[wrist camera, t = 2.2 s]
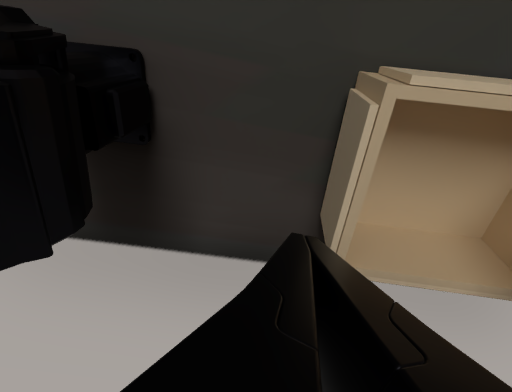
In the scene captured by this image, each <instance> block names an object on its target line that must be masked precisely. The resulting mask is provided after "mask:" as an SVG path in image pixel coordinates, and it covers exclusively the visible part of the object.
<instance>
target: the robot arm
mask: <svg viewBox="0 0 512 392" xmlns="http://www.w3.org/2000/svg"><path fill="white" fill-rule="evenodd" d="M132 54H135V55H136V61H134V60H133V59H132ZM150 121H151V110H150V99H149V89H148V84H147V83H146V82H145V75H144V64H143V57H142V54H141V52H140V51H139V50H137V49H132V48H123V47H113V46H104V45H94V44H85V43H75V42H67V41H66V35H65V34H61V33H56V32H53V31H52V29H51V28H47V27H43V26H38V24H35V23H34V22H33V21H32V20H31V19H30V17H29V16H28V15H27V14H26V13H25V12H24V11H23V10H22V9H20V8H15V7H10V6H3V5H0V271H1V270H4V269H7V268H10V267H13V266H15V265H18V264H21V263H24V262H30V261H34V260H39V259H43V258H48V257H50V256H52V255H53V250H52V245H54V244H56V243H58V242H60V241H62V240H64V239H66V238H68V237H69V236H71V235H73V234H74V233H75V232H77V231H78V230H79V229H81V228H82V227H83V226H84V225H85V221H84V219H85V218H86V217H87V215H88V214H89V212H90V210H91V209H92V207H93V204H92V194H91V187H90V180H89V173H88V166H87V159H86V154H87V153H89V152H90V151H92V150H94V151H96V150H99V149H101V148H102V147H104V146H106V145H108V144H109V143H111V142H113V141H116V142H124V143H133V144H141V145H145V144H147V143H148V142H150V140H151V135H150V125H149V122H150ZM141 135H143V136H144V137H145V140H143V139H142V138H141ZM120 392H512V388H511V387H510V386H508V385H507V384H506V383H504V382H503V381H501V380H500V379H499V378H497V377H496V376H495V375H493V374H492V373H491V372H489V371H488V370H486V369H485V368H484V367H482V366H481V365H479V364H478V363H477V362H475V361H474V360H473V359H471V358H470V357H469V356H467V355H466V354H464V353H463V352H462V351H460V350H459V349H457V348H456V347H455V346H453V345H452V344H451V343H449V342H448V341H446V340H445V339H444V338H442V337H441V336H440V335H438V334H437V333H436V332H434V331H433V330H432V329H430V328H429V327H428V326H426V325H425V324H424V323H422V322H421V321H420V320H418V319H417V318H416V317H415V316H414V315H412V314H411V313H410V312H409V311H407V310H406V309H405V308H403V307H402V306H401V305H400V304H398V303H397V302H395V303H394V300H393V299H392V298H390V297H389V296H388V295H387V294H385V293H384V292H383V291H382V290H381V289H379V288H378V287H377V286H376V285H374V284H373V283H372V282H371V281H370V280H368V279H367V278H366V277H365V276H363V275H362V274H361V273H360V272H358V271H357V270H356V269H355V268H354V267H352V266H351V265H350V264H349V263H347V262H346V261H345V260H344V259H342V258H341V257H340V256H339V255H338V254H336V253H335V252H334V251H333V250H331V249H330V248H329V247H328V246H326V245H325V244H324V243H323V242H322V241H320V240H319V239H318V238H316V237H312V236H304V235H302V234H297V233H291V234H290V235H289V236H288V238H287V239H286V240H285V241H284V242H283V244H282V245H281V246H280V247H279V249H278V250H277V251H276V252H275V253H274V255H273V256H272V257H271V258H270V260H269V261H268V262H267V263H266V264H265V266H264V267H263V268H262V269H261V271H260V272H259V273H258V274H257V275H256V276H255V277H254V279H253V280H252V281H251V282H250V283H249V284H248V285H247V286H246V288H245V289H244V290H243V291H241V292H240V293H239V294H238V295H237V296H236V297H235V298H234V299H233V300H231V301H230V302H229V303H228V304H227V305H225V306H224V307H223V308H221V309H220V310H219V311H218V312H217V313H216V314H214V315H213V316H212V317H210V318H209V319H208V320H207V321H206V322H205V323H203V324H202V325H201V326H200V327H198V328H197V329H196V330H195V331H193V332H192V333H191V334H190V335H189V336H187V337H186V338H185V339H184V340H182V341H181V342H180V343H179V344H178V345H176V346H175V347H174V348H173V349H171V350H170V351H169V352H168V353H167V354H165V355H164V356H163V357H162V358H160V360H158V361H157V362H156V363H154V364H153V365H152V366H151V367H150V368H148V369H147V370H146V371H145V372H143V373H142V374H141V375H140V376H139V377H138V378H136V379H135V380H134V381H132V382H131V383H130V384H129V385H128V386H126V387H125V388H124V389H123V390H121V391H120Z"/></svg>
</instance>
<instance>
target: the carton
mask: <svg viewBox="0 0 512 392" xmlns="http://www.w3.org/2000/svg"><path fill="white" fill-rule="evenodd" d="M320 216H321V222H322V227H323V233H324V239H325V245H326V246H328V247H329V248H330V249H331V250H333V251H334V252H335V253H336V254H338V255H339V256H340V257H341V258H342V259H344V260H345V261H346V262H347V263H349V264H350V265H351V266H352V267H354V268H355V269H356V270H357V271H358V272H360V273H361V274H362V275H363V276H365V277H366V278H367V279H368V280H370V281H375V282H381V283H389V284H396V285H402V286H410V287H417V288H424V289H431V290H438V291H445V292H453V293H460V294H466V295H473V296H481V297H488V298H495V299H502V300H509V301H512V80H511V79H502V78H492V77H482V76H473V75H463V74H453V73H444V72H434V71H424V70H415V69H405V68H395V67H386V66H380V68H379V72H378V73H372V72H362V71H359V74H358V78H357V82H356V86H355V89H351V88H350V91H349V96H348V100H347V104H346V108H345V112H344V117H343V121H342V125H341V129H340V133H339V138H338V142H337V146H336V150H335V154H334V159H333V163H332V167H331V171H330V175H329V180H328V184H327V188H326V192H325V196H324V201H323V205H322V209H321V213H320Z"/></svg>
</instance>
